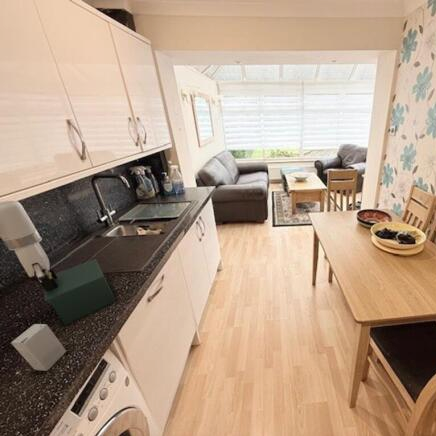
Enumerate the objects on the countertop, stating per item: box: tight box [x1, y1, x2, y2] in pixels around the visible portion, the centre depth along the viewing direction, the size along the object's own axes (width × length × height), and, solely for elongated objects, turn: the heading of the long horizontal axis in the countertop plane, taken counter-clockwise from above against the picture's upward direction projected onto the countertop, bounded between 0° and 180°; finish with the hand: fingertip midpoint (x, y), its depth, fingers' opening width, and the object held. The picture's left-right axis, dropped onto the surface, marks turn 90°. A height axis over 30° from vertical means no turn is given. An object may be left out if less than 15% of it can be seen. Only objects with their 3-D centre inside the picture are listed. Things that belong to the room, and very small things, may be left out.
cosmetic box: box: [10, 323, 67, 372], centre depth 67 cm, size 6×4×12 cm
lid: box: [43, 258, 104, 303], centre depth 85 cm, size 16×17×5 cm
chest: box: [48, 261, 116, 326], centre depth 89 cm, size 15×17×11 cm
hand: (52, 284), depth 82 cm, fingers closed on lid, 6 cm apart
